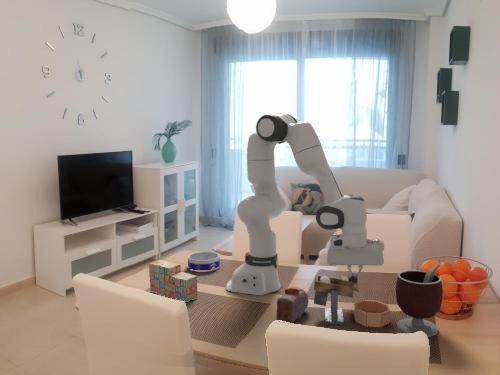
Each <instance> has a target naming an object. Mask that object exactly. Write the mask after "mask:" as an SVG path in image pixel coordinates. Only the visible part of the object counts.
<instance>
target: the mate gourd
mask: <svg viewBox="0 0 500 375" xmlns="http://www.w3.org/2000/svg"><path fill="white" fill-rule="evenodd" d="M440 267H441V264H439V263H438V264H436V265H434V266H433V267H431V268H430V269H428V271H424V270H412V269H411V270H403V271H400V272H398V273H397V279H396V284H395V300H396V303H397V306H398V308H400V310H401V312H402V313H404V314H405V315H406V316H408V317H406V318H401V319H399V320H398V322H397V328H398V329H399V331H401V332H402V333H404V332H405V334H407V333H414V332H417V331H423V332H425V333H426V334H427V336H428V337H429V338H430V337H433V336H436V335H437V334H438V333H439V327H438V326H437V325H436V324H435V323H434V322H432V321H429V320H427V319H430V318H433V317H434V316H436V314H438V312H439V311H440V310H441V307H442V302H443V292H444V290H443V283H442V278H441V276H439V275H438V274H436V272H437V270H438V268H440ZM428 337H427V338H428Z"/></svg>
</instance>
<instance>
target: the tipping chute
mask: <svg viewBox="0 0 500 375" xmlns="http://www.w3.org/2000/svg"><path fill="white" fill-rule="evenodd" d="M323 276H324V275H320V274H319V275H318V274H315V278H314V283H313V284H314V285H313V291H315V292H314V297H313V305H318V306H324V307H326V306H327V302H328V296H329V294H331V289H333V290H338V296H342V297H347V298H353V297H354V292H356V293H358V292H359V290H360V289H359V284H358V281H359V279H358V278H359V277H351V276H350V273H348V276H344V275H341V277H340V278H334V277H329V276H328V277H329V279H330V283H326V282H321V281H320V278H321V277H323Z"/></svg>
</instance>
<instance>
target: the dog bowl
mask: <svg viewBox="0 0 500 375" xmlns="http://www.w3.org/2000/svg"><path fill="white" fill-rule="evenodd" d="M220 256H221V255H220V254H219V253H217V252H215V251H198V252H193V253H191V254H189V255H188V256H187V267H189V268H190V269H193V270H211V269H215V268H217V267H219V266H221V265H220V264H221V263H220V261H221V257H220ZM219 268H220V267H219Z"/></svg>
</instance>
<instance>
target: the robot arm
mask: <svg viewBox="0 0 500 375" xmlns="http://www.w3.org/2000/svg"><path fill="white" fill-rule="evenodd" d="M255 125H256V126H255V132H253V133H251V134H250V135H249V137H248V141H247V147H246V166H247V167H246V169H247V170H246V171H247V174H246V175H247V180H248V182H249V183H250V184H251V185H252V186H253V190H254V195H251V196H247V197H246V198H244V199H242V200H241V201H240V202H239V203H238V205H237V209H236V212H237V213H236V214H237V216H238V218H239V220H240V221H241V222H242V223H243V224H244V225H245V228H246V230H247V234H248V243H249V244H248V245H249V251H246V252H245V253H244V254H245V256H244V262H243V263H242V264H241V265H240V266H238V267H236V269H235V270H234V271H233V273H232V276H231V279H230V280H229V281H227V283H226V286H225V289H227V290H228V291H227V290H226V291H227V292H229V291H231V293H237V292H238V294H244V295H245V294H247V295H255V296H264V295H267V294H270V293H274V292H277V291H279V290H280V289H281V287H282V285H281V283H280V280H279V274H278V267H279V264H278V263H279V261H278V260H279V258H278V253H277V235H276V234H275V231H273V230H272V228H271V225H270V220H272V219H276V218H277V217H279V216H280V215H281V214H283V213H284V211H285V210H286V200H285V198H284V196H283V195H282V194H281V193H280V191H279V187H278V184H277V179H276V169H275V168H276V167H275V164H276V163H275V149H276V148H275V147H276V146H277V145H278V144H279V145H281V144H283V143H287V144H288V145H289V147H290V150H291V151H292V152H291V153H292V155H293V157H294V161H295V164H296V165H297V167H298V168H299V170H300V171H301V172H302V173H304V174H305V175H308V176H310V177H312V178H313V179H314V180H316V182H317V183H318V185H319V187H320V189H321V191H322V194H323V197H324V198H325V201H326V203H325V204H324V205H322V206H321V205H320V207H318V209H317V210H316V212H315V221H316V223H317V225H318V226H319V227H320V228H321V229H322V230H324V231H325V230H326V231H331V230H332V231H333V230H341V233H339V234H337V235H333V236H331V237H330V238H329V244H328V246H327V250H326V263H327V265H328V266H346V268H347V269H348V271H349V274H350V276H351V277H357V278H361V277H360V273H361V272H362V270H363V266H383V265H384V264H385V259H384V253H383V252H384V251H385V242H384V241H382V240H380V239H370V238H369V239H368V231H367V230H368V229H367V226H366V225H367V221H368V219H367V218H368V216H367V215H368V214H367V205H366V201H365V199H364V198H363V197H362V196H359V195H356V194H344V195H343V194H342V193H341V190H340V187H339V185H338V183H337V181H336V178H335V175H334V173H333V172H332V170H331V167H330V164H329V163H328V160H327V157H326V154H325V151H324V149H323V146H322V143H321V141H320V138H319V136H318V134H317V132H316V131H315V129H314V127H313V125H312V124H311V123H310V122H309V121H298V120H297V119H296V118H295V117H294V116H292V115H291V114H288V113H282V112H277V113H272V112H271V113H265V114H264V115H262V116H261V117H260V118H258V119H257V122H256V123H255ZM352 266H358V267H357V268H358V269H357V270H355V271H354V270H352Z"/></svg>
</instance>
